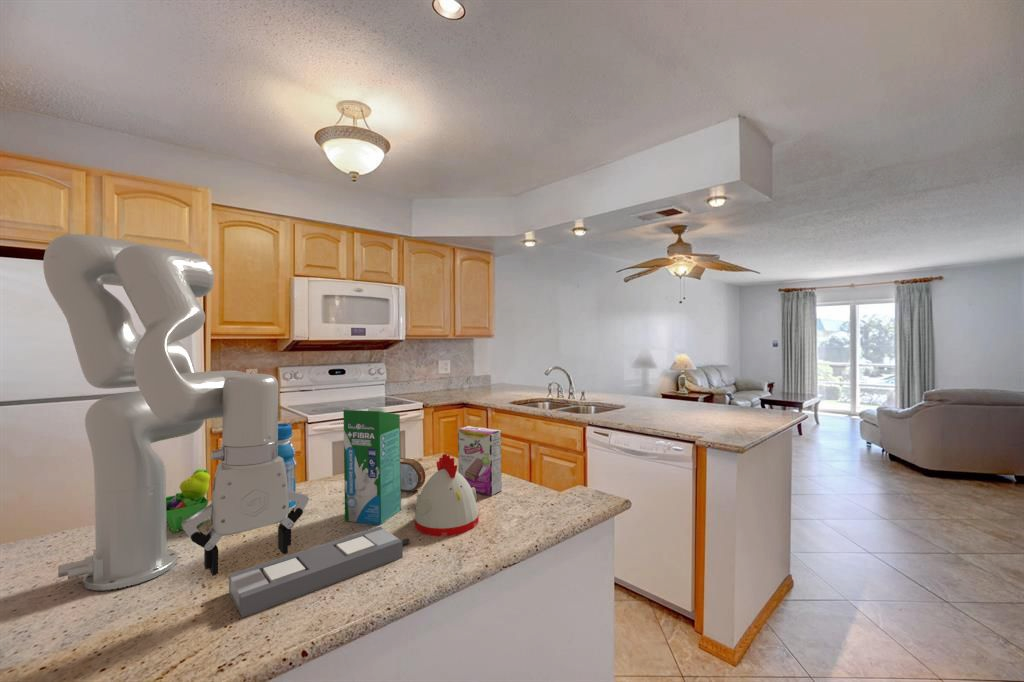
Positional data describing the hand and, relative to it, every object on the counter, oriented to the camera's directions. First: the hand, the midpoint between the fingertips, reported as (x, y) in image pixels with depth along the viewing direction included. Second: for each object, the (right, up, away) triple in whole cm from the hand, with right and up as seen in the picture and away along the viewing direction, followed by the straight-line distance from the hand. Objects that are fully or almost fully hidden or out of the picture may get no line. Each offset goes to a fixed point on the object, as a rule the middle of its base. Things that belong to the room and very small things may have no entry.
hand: (249, 561), depth 70 cm
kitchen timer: (+27, -6, +28) cm, 39 cm away
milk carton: (+10, -6, +32) cm, 34 cm away
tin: (+11, -6, +50) cm, 51 cm away
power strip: (+10, -6, +8) cm, 14 cm away
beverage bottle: (-15, -6, +37) cm, 40 cm away
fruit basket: (-32, -6, +30) cm, 44 cm away
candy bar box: (+33, -5, +48) cm, 59 cm away
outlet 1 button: (+4, -5, +3) cm, 7 cm away
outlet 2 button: (+13, -4, +11) cm, 17 cm away
